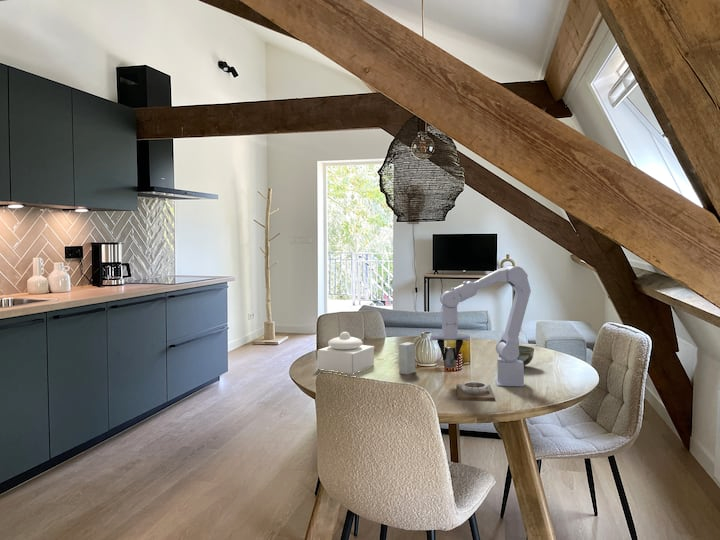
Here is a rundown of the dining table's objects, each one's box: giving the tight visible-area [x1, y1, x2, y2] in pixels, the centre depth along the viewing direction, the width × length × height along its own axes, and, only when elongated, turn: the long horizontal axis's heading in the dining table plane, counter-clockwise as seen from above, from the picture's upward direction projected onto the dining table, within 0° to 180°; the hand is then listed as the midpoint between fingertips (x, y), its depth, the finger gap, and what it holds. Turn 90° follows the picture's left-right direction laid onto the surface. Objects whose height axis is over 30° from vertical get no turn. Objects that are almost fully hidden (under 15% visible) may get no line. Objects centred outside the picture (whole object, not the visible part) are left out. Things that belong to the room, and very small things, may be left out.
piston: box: [444, 346, 457, 368], centre depth 199 cm, size 4×4×7 cm
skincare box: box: [398, 341, 416, 376], centre depth 219 cm, size 6×4×12 cm
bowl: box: [517, 345, 535, 369], centre depth 226 cm, size 14×13×8 cm
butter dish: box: [316, 331, 375, 375], centre depth 228 cm, size 18×18×16 cm
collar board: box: [455, 381, 496, 401], centre depth 188 cm, size 12×16×3 cm
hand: (450, 359), depth 199 cm, fingers closed on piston, 4 cm apart
